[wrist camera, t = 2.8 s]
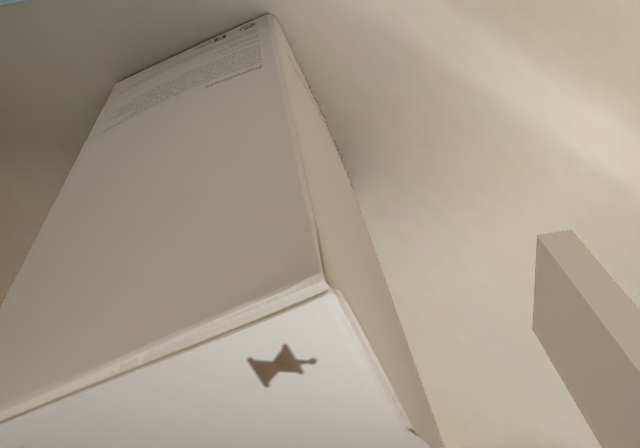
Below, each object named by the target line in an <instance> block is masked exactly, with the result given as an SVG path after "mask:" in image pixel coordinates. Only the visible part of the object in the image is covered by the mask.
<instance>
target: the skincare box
mask: <svg viewBox="0 0 640 448" xmlns="http://www.w3.org/2000/svg"><path fill="white" fill-rule="evenodd" d="M0 448H445V447H444V444H443V441H442V439H441V436H440V433H439V430H438V427H437V425H436V422H435V419H434V416H433V413H432V411H431V408H430V405H429V402H428V399H427V397H426V394H425V391H424V388H423V385H422V382H421V380H420V377H419V374H418V371H417V368H416V366H415V363H414V360H413V357H412V354H411V352H410V349H409V346H408V343H407V340H406V337H405V334H404V332H403V329H402V326H401V323H400V320H399V317H398V315H397V312H396V309H395V306H394V303H393V300H392V298H391V295H390V292H389V289H388V286H387V283H386V281H385V278H384V275H383V272H382V269H381V266H380V264H379V261H378V258H377V255H376V252H375V249H374V247H373V244H372V241H371V238H370V235H369V233H368V230H367V227H366V225H365V222H364V219H363V216H362V214H361V211H360V208H359V205H358V203H357V200H356V197H355V194H354V192H353V189H352V186H351V184H350V181H349V179H348V176H347V174H346V171H345V168H344V166H343V163H342V161H341V158H340V156H339V153H338V151H337V149H336V146H335V144H334V141H333V139H332V136H331V134H330V132H329V130H328V127H327V125H326V123H325V121H324V119H323V116H322V114H321V112H320V110H319V108H318V105H317V103H316V101H315V99H314V97H313V95H312V93H311V90H310V88H309V86H308V84H307V82H306V80H305V77H304V75H303V73H302V71H301V69H300V67H299V65H298V62H297V60H296V58H295V56H294V54H293V52H292V50H291V48H290V46H289V44H288V42H287V40H286V38H285V36H284V33H283V31H282V29H281V27H280V25H279V23H278V21H277V19H276V17H275V16H273V15H271V14H266V15H264V16H262V17H259V18H257V19H255V20H252V21H250V22H248V23H246V24H243V25H241V26H239V27H237V28H234V29H232V30H230V31H228V32H225V33H223V34H221V35H219V36H216V37H214V38H212V39H210V40H208V41H206V42H203V43H201V44H199V45H197V46H195V47H193V48H191V49H189V50H186V51H184V52H182V53H180V54H178V55H175V56H173V57H171V58H169V59H167V60H164V61H162V62H160V63H158V64H156V65H154V66H151V67H149V68H147V69H145V70H143V71H141V72H139V73H137V74H135V75H132V76H130V77H128V78H126V79H124V80H122V81H120V82H118V83H116V84H115V85H114V87H113V89H112V91H111V93H110V95H109V97H108V99H107V101H106V103H105V104H104V106H103V108H102V110H101V112H100V114H99V116H98V118H97V120H96V122H95V124H94V126H93V128H92V129H91V131H90V134H89V136H88V138H87V140H86V141H85V143H84V145H83V147H82V149H81V151H80V153H79V155H78V157H77V159H76V161H75V162H74V164H73V166H72V168H71V170H70V172H69V173H68V176H67V178H66V180H65V182H64V184H63V186H62V188H61V190H60V192H59V194H58V196H57V198H56V200H55V201H54V203H53V205H52V207H51V209H50V211H49V213H48V215H47V217H46V219H45V221H44V222H43V224H42V226H41V228H40V230H39V232H38V234H37V236H36V238H35V240H34V242H33V244H32V246H31V248H30V250H29V252H28V254H27V256H26V257H25V259H24V261H23V263H22V265H21V267H20V269H19V271H18V273H17V274H16V276H15V278H14V280H13V282H12V284H11V286H10V288H9V289H8V291H7V294H6V296H5V298H4V300H3V302H2V304H1V306H0Z"/></svg>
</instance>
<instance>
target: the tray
mask: <svg viewBox="0 0 640 448" xmlns="http://www.w3.org/2000/svg"><path fill="white" fill-rule="evenodd" d="M22 1H28V0H0V5H4V4H10V3H16V2H22Z"/></svg>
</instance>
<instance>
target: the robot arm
mask: <svg viewBox="0 0 640 448" xmlns="http://www.w3.org/2000/svg"><path fill="white" fill-rule="evenodd" d="M532 329H533V331H534V332H535V334H536V336H537V338H538V339H539V341H540V343H541V344H542V346H543V348H544V350H545V351H546V353H547V355H548V356H549V358H550V360H551V361H552V363H553V365H554V367H555V368H556V370H557V372H558V373H559V375H560V377H561V379H562V380H563V382H564V384H565V385H566V387H567V389H568V391H569V392H570V394H571V396H572V397H573V399H574V401H575V402H576V404H577V406H578V408H579V409H580V411H581V413H582V414H583V416H584V418H585V420H586V421H587V423H588V425H589V426H590V428H591V430H592V431H593V433H594V435H595V437H596V438H597V440H598V442H599V443H600V445H601V447H602V448H640V310H639V309H638V308H637V306H636V305H635V304H634V303H633V302H632V301H631V299H630V298H629V297H628V296H627V295H626V294H625V292H624V291H623V290H622V289H621V288H620V287H619V285H618V284H617V283H616V282H615V281H614V280H613V278H612V277H611V276H610V275H609V274H608V272H607V271H606V270H605V269H604V268H603V267H602V265H601V264H600V263H599V262H598V261H597V260H596V258H595V257H594V256H593V255H592V254H591V253H590V251H589V250H588V249H587V248H586V247H585V246H584V244H583V243H582V242H581V241H580V240H579V239H578V237H577V236H576V235H575V234H574V233H573V231H572V230H567V231H561V232H555V233H549V234H543V235H537V248H536V268H535V288H534V308H533V328H532Z"/></svg>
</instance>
